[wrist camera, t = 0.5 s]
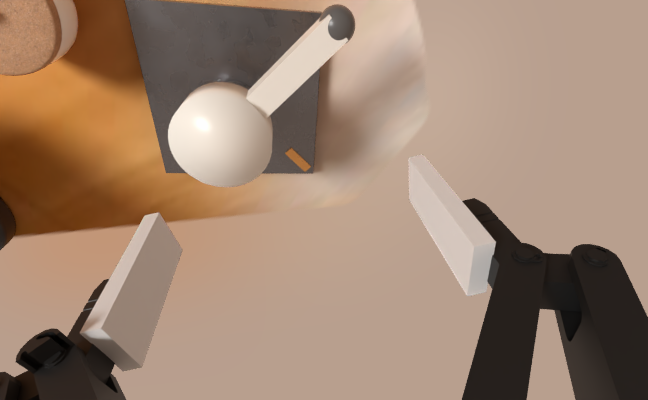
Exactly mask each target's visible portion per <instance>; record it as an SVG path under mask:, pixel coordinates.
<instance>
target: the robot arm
mask: <svg viewBox="0 0 648 400" xmlns="http://www.w3.org/2000/svg"><path fill="white" fill-rule="evenodd" d="M408 160H409V200H410V202H411V204H412V205H413V207H414V209H415V210H416V212H417V214H418V215H419V217H420V219H421V220H422V222H423V224H424V225H425V227H426V229H427V230H428V232H429V234H430V235H431V237H432V239H433V240H434V242H435V244H436V245H437V247H438V249H439V250H440V252H441V253H442V255H443V257H444V259H445V260H446V262H447V263H448V265H449V267H450V268H451V270H452V272H453V274H454V275H455V277H456V279H457V280H458V282H459V284H460V285H461V287H462V289H463V290H464V292H465V294H466V295H467V296H470V295H475V294H480V293H484V292H486V290H487V285H488V283H489V284H490V286H491V287H492V293H491V296H490V300H489V304H488V307H487V311H486V314H485V318H484V322H483V325H482V329H481V332H480V336H479V340H478V344H477V347H476V350H475V355H474V358H473V362H472V365H471V369H470V372H469V376H468V379H467V383H466V386H465V390H464V394H463V397H462V400H526V398H527V392H528V385H529V378H530V371H531V365H532V358H533V351H534V344H535V337H536V331H537V324H538V317H539V310H540V309H551V310H555V314H556V318H557V323H558V327H559V331H560V335H561V340H562V344H563V348H564V353H565V357H566V361H567V365H568V369H569V373H570V378H571V382H572V386H573V391H574V395H575V399H576V400H648V317H647V315H646V313H645V311H644V309H643V306H642V304H641V302H640V300H639V298H638V296H637V294H636V292H635V290H634V288H633V286H632V283H631V281H630V279H629V277H628V275H627V273H626V271H625V269H624V267H623V265H622V262H621V261H620V259H619V258H618V257H617V255H615V254H614V253H613V252H611V251H609V250H608V249H605V248H603V247H600V246H596V245H591V244H582V245H578V246H576V247H574V249H573V250H572V251H571V254H548V253H543V252H542V251H541V250H540V249H538V248H536V247H535V246H532V245H530V244H527V243H521V242H520V241H519V240H518V239H517V238H516V237H515V235H514V234H513V233H512V232H511V231H510V230H509V229H508V228H507V227H506V226H505V225H504V224H503V222H502V221H500V220H499V219H498V217H497V216H496V215H495V214H494V213H493V212H492V211H491V210H490V208H489V207H488V206H487V205H486V204H484V203H482V202H480V201H479V200H477V199H475V198H473V199H469V200H465V201H461V200H460V198H459V197H458V196H457V195H456V193H455V192H454V191H453V190H452V189H451V187H450V186H449V185H448V184H447V183H446V181H445V180H444V179H443V178H442V177H441V175H440V174H439V173H438V172H437V171H436V170H435V168H434V167H433V166H432V165H431V163H430V162H429V161H428V160H427V159H426V158H425V156H424V155H423V154H422V155H418V156H414V157H409V158H408ZM15 228H16V226H15V220H14V217H13V215H12V213H11V211H10V210H9V208H8V207H7V205H6V204H5V203H4V202H3V201H2V200H1V199H0V250H1V249H2V248H3V247H4V246H5V245H6V244H7V243H8V242H9V241H10V240H11V239H12V238H13V236H14V233H15ZM181 253H182V248H181V247H180V245H179V243H178V242H177V240H176V239H175V237H174V235H173V234H172V232H171V230H170V229H169V227H168V226H167V224H166V222H165V221H164V219H163V218H162V216H161V214H160V213H159V212H158V213H153V214H149V215H145V216H144V217H143V219H142V221H141V223H140V225H139V226H138V228H137V230H136V232H135V234H134V236H133V238H132V239H131V241H130V243H129V245H128V246H127V248H126V250H125V252H124V254H123V255H122V257H121V259H120V261H119V263H118V265H117V266H116V268H115V270H114V272H113V273H112V275H111V277H110V279H107V280H104V281H103V282H102V283H101V284H100V285H99V286H98V287H97V288H96V289H95V290H94V292H93V294H92V295H91V297H90V299H89V300H88V303H87V304H86V305H85V307H84V309H83V312H81V314H80V316H79V317H78V319H77V321H76V323H75V325H74V326H73V328H72V329H71V331H70V333H69V335H68V336H67V337H66V336H65V335H64V334H63V333H61V332H60V331H59V330H58V329H49V330H45V331H43V332H41V333H39V334H38V335H36V336H34V337H33V338H32V339H30V340H29V341H28V342H27V343H26V344H25V345H24V346H23V347H22V348H21V349H20V351H19V353H18V355H17V357H16V362H17V363H18V364H20V365H21V366H23V367H24V368H26V369H27V370H28V371H26V372H24V373H22V374H20V375H18V376H16V377H13V376H11V375H9V374H8V373H6V372H0V400H126V399H125V396H124V394H123V392H122V390H121V388H120V386H119V384H118V382H117V380H116V378H115V377H114V376H113V375H112V374H111V372H112V369H113V367H114V364H116V365H117V366H118V367H119V368H120V369H121V370H122V371H127V370H131V369H136V368H141V367H142V366H143V363H144V360H145V357H146V354H147V351H148V348H149V345H150V343H151V340H152V337H153V334H154V331H155V328H156V325H157V322H158V319H159V316H160V313H161V310H162V308H163V305H164V302H165V299H166V296H167V293H168V290H169V287H170V285H171V282H172V279H173V276H174V273H175V270H176V267H177V264H178V261H179V259H180V256H181Z"/></svg>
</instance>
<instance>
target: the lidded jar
mask: <svg viewBox="0 0 648 400" xmlns="http://www.w3.org/2000/svg"><path fill="white" fill-rule="evenodd" d="M77 31H78V16H77V11H76V7H75V4H74V2H73V0H0V74H2V75H12V76H17V75H26V74H30V73H34V72H36V71H38V70H41V69H43V68H45V67H46V66H47V65H49V64H51V63H53V62H55V61H57V60H58V59H60V58H61V57H62V56H63V55H65V54H66V53H67V52H68V50H69V49H70V48H71V47H72V45H73V43H74V41H75V39H76V35H77Z"/></svg>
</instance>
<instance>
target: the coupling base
mask: <svg viewBox="0 0 648 400" xmlns="http://www.w3.org/2000/svg"><path fill="white" fill-rule="evenodd" d="M125 4H126V8H127V12H128V16H129V20H130V24H131V29H132V33H133V37H134V41H135V45H136V49H137V54H138V58H139V62H140V66H141V70H142V74H143V79H144V83H145V87H146V91H147V95H148V99H149V104H150V108H151V112H152V116H153V120H154V124H155V129H156V133H157V137H158V141H159V145H160V149H161V154H162V158H163V162H164V166H165V170H166V173H187V172H185V171H184V170H183V169H182V168H181V167H180V165H179V164H178V163H177V161H176V160H175V158H174V157H173V154H172V152H171V150H170V146H169V142H168V129H169V125H170V122H171V119H172V117H173V115H174V114H175V112H176V111H177V110H178V109H179V107H180V106H181V105H182V103H183V102H184V101H185V99H186V98H187V97H188V95H189V94H190V93H191V92H193V91H194V90H195V89H197V88H198V87H200V86H202V85H205V84H208V83H213V82H228V83H233V84H236V85H239V86H242V87H244V88H246V89H248V90H249V89H250V88H251V87H252V86H253V85H254V84H255V83H256V82H257V81H258V80H259V79H260V78H261V77H262V76H263V75H264V74H265V73H266V72H267V71H268V70H269V69H270V68H271V67H272V66H273V65H274V64H275V63H276V62H277V61H278V60H279V59H280V58H281V57H282V56H283V55H284V54H285V53H286V52H287V51H288V50H289V49H290V48H291V47H292V45H293V44H294V43H295V42H296V41H297V40H298V39H299V38H300V37H301V36H302V35H303V34H304V33H305V32H306V31H307V30H308V29H309V28H310V27H311V26H312V25H313V24H314V23H315V22H316V21H317V20H318V19H319V18H320V16H321V14H322V12H314V11H301V10H288V9H275V8H262V7H249V6H236V5H223V4H210V3H197V2H184V1H171V0H125ZM319 72H320V68H319V69H318V70H317V71H316V72H315V73H314V74H313V75H312V76H310V77H309V78H308V79H307V80H306V81H305V82H304V83H303V84H302V85H301V86H300V87H299V88H298V89H297V90H296V91H295V92H294V93H293V94H292V95H290V96H289V97H288V98H287V99H286V100H285V101H284V102H283V103H282V104H281V105H280V106H279V107H278V108H277V109H276V110H275V111H274V112H273V113H272V114H271V115H270V117H271V121H272V127H273V135H272V154H271V158H270V161H269V163H268V165H267V167H266V168H265V170H264V171H263V172H262V173H313V167H314V151H315V135H316V119H317V104H318V88H319Z"/></svg>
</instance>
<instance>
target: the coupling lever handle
mask: <svg viewBox="0 0 648 400" xmlns="http://www.w3.org/2000/svg"><path fill="white" fill-rule="evenodd" d="M354 31H355V19H354V16H353V14H352V12H351V11H350V10H349V9H348V8H347V7H345V6H343V5H332V6H329V7H328V8H326V9H325V10H324V11H323V13H322V14H321V16H320V18H319V19H318V20H317V21H316V22H315V23H314V24H313V25H312V26H311V27H310V28H309V29H308V30H307V31H306V32H305V33H304V34H303V35H302V36H301V37H300V38H299V39H298V40H297V41H296V42H295V43H294V44H293V45H292V47H291V48H290V49H289V50H288V51H287V52H286V53H285V54H284V55H283V56H282V57H281V58H280V59H279V60H278V61H277V62H276V63H275V64H274V65H273V66H272V67H271V68H270V69H269V70H268V71H267V72H266V73H265V74H264V75H263V76H262V77H261V78H260V79H259V80H258V81H257V82H256V83H255V84H254V85H253V86H252V87H251V88H250V89H249V90H248V89H246V88H244V87H242V86H239V85H236V84H233V83H228V82H213V83H208V84H205V85H202V86H200V87H198V88H197V89H195V90H194V91H193V92H191V93H190V94H189V95H188V97H187V98H186V99H185V101H184V102H183V103H182V105H181V106H180V107H179V109H178V110H177V111H176V112H175V114H174V115H173V117H172V119H171V122H170V125H169V129H168V142H169V146H170V150H171V152H172V154H173V157H174V158H175V160H176V161H177V163H178V164H179V165H180V167H181V168H182V169H183V170H184V171H185V172H187V173H188V174H189V175H190V176H192V177H194V178H195V179H197V180H199V181H201V182H203V183H206V184H209V185H212V186H217V187H235V186H240V185H244V184H246V183H249V182H251V181H252V180H254V179H256V178H257V177H258V176H259V175H260V174H261V173H262V172H263V171H264V170H265V168H266V167H267V165H268V163H269V161H270V158H271V154H272V135H273V127H272V121H271V117H270V115H271V114H272V113H273V112H274V111H275V110H276V109H277V108H278V107H279V106H280V105H281V104H282V103H283V102H284V101H285V100H286V99H287V98H288V97H289V96H290V95H292V94H293V93H294V92H295V91H296V90H297V89H298V88H299V87H300V86H301V85H302V84H303V83H304V82H305V81H306V80H307V79H308V78H309V77H310V76H312V75H313V74H314V73H315V72H316V71H317V70H318V69H319V68H320V67H321V66H322V65H323V64H324V63H325V62H326V61H327V60H328V59H329V58H330V57H331V56H333V55H334V54H335V53H336V52H337V51H338V50H339V49H340V48H341V47H342V46H343V45H344V44H346V43H347V42H348V41H349V40H350V39H351V38H352V36H353V34H354Z"/></svg>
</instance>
